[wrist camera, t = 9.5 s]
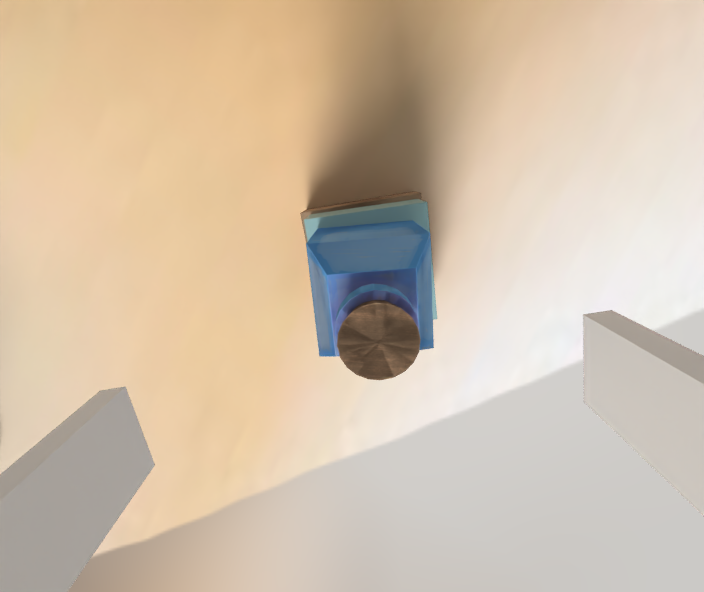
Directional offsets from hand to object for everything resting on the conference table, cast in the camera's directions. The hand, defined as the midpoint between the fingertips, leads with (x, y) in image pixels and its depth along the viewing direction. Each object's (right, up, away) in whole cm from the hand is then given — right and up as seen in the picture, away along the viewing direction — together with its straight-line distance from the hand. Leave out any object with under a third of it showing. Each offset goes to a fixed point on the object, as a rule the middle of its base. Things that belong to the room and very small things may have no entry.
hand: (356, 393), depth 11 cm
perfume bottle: (+1, +5, +15) cm, 16 cm away
